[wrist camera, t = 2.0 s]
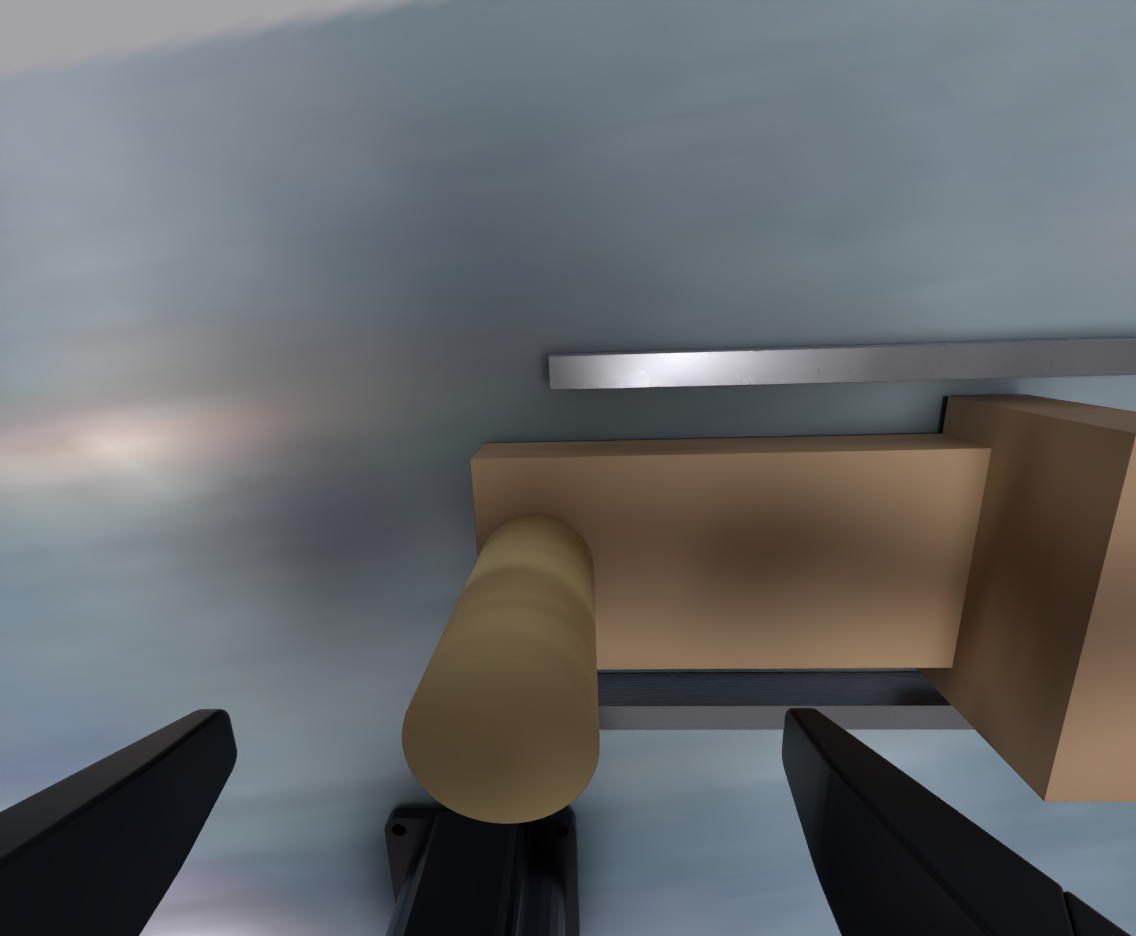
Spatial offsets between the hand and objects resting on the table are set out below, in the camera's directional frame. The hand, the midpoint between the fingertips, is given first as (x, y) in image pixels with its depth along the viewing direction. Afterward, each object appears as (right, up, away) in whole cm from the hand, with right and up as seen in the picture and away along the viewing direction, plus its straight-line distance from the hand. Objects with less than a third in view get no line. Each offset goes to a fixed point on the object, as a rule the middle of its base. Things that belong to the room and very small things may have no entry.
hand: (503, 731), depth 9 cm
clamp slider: (+6, +2, +7) cm, 9 cm away
